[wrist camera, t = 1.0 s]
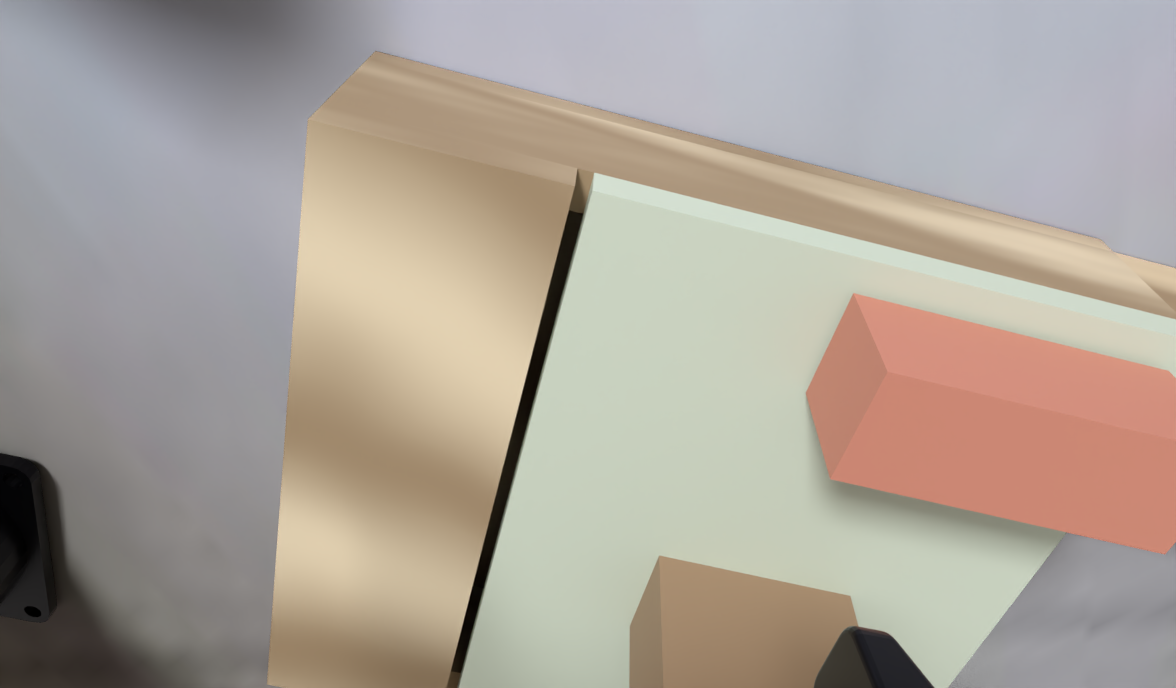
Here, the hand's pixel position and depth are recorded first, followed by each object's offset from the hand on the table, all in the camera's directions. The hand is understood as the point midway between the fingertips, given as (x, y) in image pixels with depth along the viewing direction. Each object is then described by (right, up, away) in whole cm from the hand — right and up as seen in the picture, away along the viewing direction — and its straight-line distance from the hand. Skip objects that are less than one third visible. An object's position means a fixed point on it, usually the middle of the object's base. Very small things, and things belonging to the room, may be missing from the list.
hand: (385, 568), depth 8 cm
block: (+9, +1, +8) cm, 12 cm away
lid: (+6, -2, +11) cm, 13 cm away
